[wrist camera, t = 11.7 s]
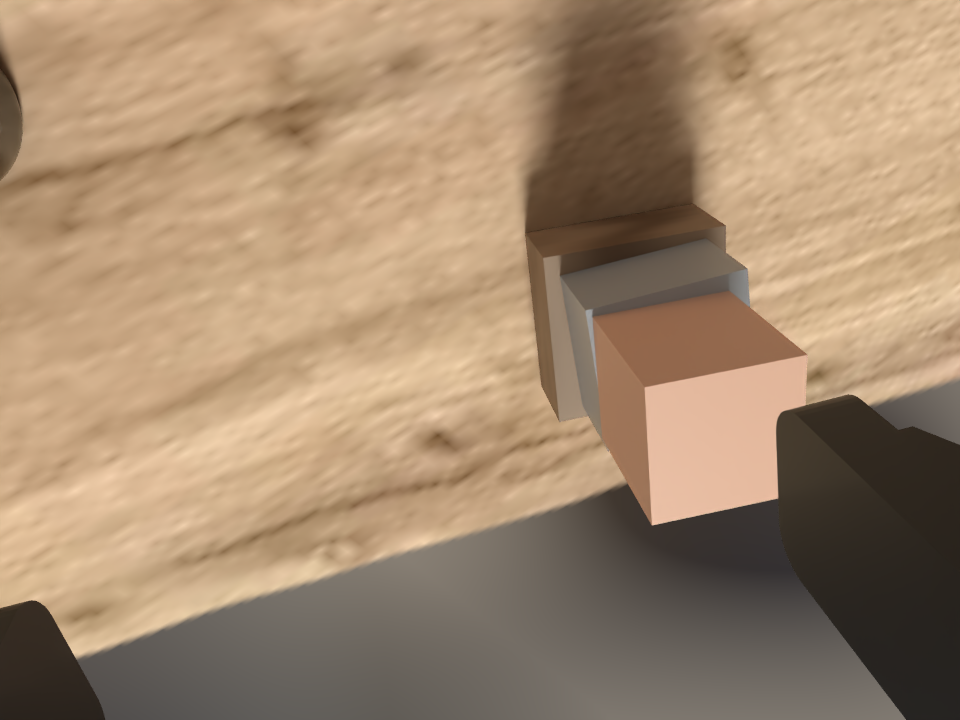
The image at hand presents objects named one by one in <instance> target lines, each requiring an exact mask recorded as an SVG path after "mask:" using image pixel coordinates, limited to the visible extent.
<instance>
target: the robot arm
mask: <svg viewBox="0 0 960 720" xmlns="http://www.w3.org/2000/svg"><path fill="white" fill-rule="evenodd" d="M776 449H777V478H778V506H779V527H780V533H781V537H782V542H783V545H784V548H785V551H786V554H787V557H788V559H789V561H790V563H791V566H792V568H793V569H794V571H795V573H796V575H797V577H798V578H799V580H800V581H801V582H802V584H803V585H804V586H805V588H806V589H807V590H808V592H809V593H810V594H811V595H812V597H813V598H814V599H815V601H816V602H817V603H818V605H819V606H820V607H821V609H822V610H823V611H824V613H825V614H826V615H827V616H828V618H829V619H830V620H831V622H832V623H833V624H834V626H835V627H836V628H837V630H838V631H839V632H840V634H841V635H842V636H843V637H844V639H845V640H846V641H847V643H848V644H849V645H850V647H851V648H852V649H853V651H854V652H855V653H856V654H857V656H858V657H859V658H860V660H861V661H862V662H863V664H864V665H865V666H866V667H867V669H868V670H869V672H870V673H871V674H872V675H873V677H874V678H875V679H876V681H877V682H878V683H879V685H880V686H881V687H882V689H883V690H884V691H885V692H886V694H887V695H888V696H889V698H890V699H891V700H892V702H893V703H894V704H895V706H896V707H897V708H898V709H899V711H900V712H901V713H902V715H903V716H904V717H905V719H906V720H960V445H958V444H956V443H953V442H951V441H948V440H945V439H943V438H940V437H938V436H936V435H933V434H930V433H928V432H925V431H923V430H920V429H918V428H915V427H909V428H905V429H901V430H897V429H896V428H895V427H894V426H892V425H891V424H890V423H889V422H888V421H887V420H885V419H884V418H883V417H882V416H880V415H879V414H878V413H877V412H876V411H874V410H873V409H872V408H871V407H869V406H868V405H867V404H866V403H865V402H863V401H862V400H861V399H859V398H858V397H856V396H854V395H845V396H841V397H837V398H833V399H829V400H825V401H821V402H817V403H813V404H809V405H805V406H801V407H797V408H794V409H790V410H786V411H783V412H781V413H780V415H779V416H778V419H777V424H776ZM0 720H105V717H104V713H103V710H102V707H101V704H100V702H99V700H98V698H97V696H96V694H95V692H94V691H93V689H92V687H91V685H90V683H89V682H88V680H87V678H86V676H85V675H84V673H83V671H82V669H81V667H80V665H79V664H78V662H77V660H76V658H75V656H74V655H73V653H72V651H71V649H70V648H69V646H68V644H67V642H66V640H65V639H64V637H63V635H62V633H61V631H60V630H59V628H58V626H57V624H56V622H55V621H54V619H53V617H52V615H51V614H50V612H49V611H48V610H47V608H46V607H45V606H44V605H42V604H41V603H39V602H37V601H32V600H31V601H27V602H23V603H19V604H15V605H11V606H7V607H3V608H0Z"/></svg>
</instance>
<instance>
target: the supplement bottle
mask: <svg viewBox="0 0 960 720" xmlns="http://www.w3.org/2000/svg"><path fill="white" fill-rule="evenodd" d="M21 141H22V116H21V111H20V106H19V103H18V100H17V97H16V94H15V92H14V90H13V88H12V86H11V84H10V82H9V80H8V78H7V77H6V75H5V74H4V72H3V71H2V70H1V68H0V180H1V179H2V178H3V177H4V176H5V175H6V174H7V173H8V172H9V170H10V169H11V167H12V166H13V164H14V162H15V160H16V158H17V156H18V153H19V150H20V146H21Z"/></svg>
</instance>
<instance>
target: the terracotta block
mask: <svg viewBox="0 0 960 720" xmlns="http://www.w3.org/2000/svg"><path fill="white" fill-rule="evenodd" d="M592 319H593V331H594V344H595V356H596V368H597V381H598V393H599V405H600V418H601V430H602V439H603V441H604V442H605V444H606V446H607V448H608V449H609V451H610V453H611V455H612V456H613V458H614V460H615V462H616V463H617V465H618V467H619V469H620V470H621V472H622V474H623V476H624V477H625V479H626V481H627V483H628V484H629V486H630V488H631V489H632V491H633V493H634V495H635V497H636V498H637V500H638V502H639V504H640V505H641V507H642V509H643V511H644V512H645V514H646V516H647V518H648V519H649V521H650V523H651V524H652V525H656V524H660V523H665V522H669V521H674V520H679V519H684V518H688V517H693V516H698V515H702V514H707V513H712V512H716V511H721V510H726V509H730V508H735V507H740V506H744V505H749V504H754V503H758V502H763V501H768V500H772V499H777V498H778V478H777V449H776V424H777V419H778V416H779V415H780V413H781V412H783V411H786V410H790V409H794V408H797V407H801V406H805V401H806V378H807V356H808V355H807V354H806V353H805V352H803V351H802V350H801V349H800V348H798V347H797V346H796V345H795V344H794V343H792V342H791V341H790V340H789V339H788V338H786V337H785V336H784V335H783V334H781V333H780V332H779V331H778V330H777V329H775V328H774V327H773V326H772V325H771V324H769V323H768V322H767V321H766V320H764V319H763V318H762V317H761V316H760V315H758V314H757V313H756V312H755V311H753V310H752V309H751V308H750V307H749V306H747V305H746V304H745V303H744V302H743V301H741V300H740V299H739V298H738V297H736V296H735V295H734V294H733V293H732V292H730V291H725V292H719V293H714V294H709V295H704V296H698V297H693V298H688V299H683V300H677V301H672V302H667V303H662V304H656V305H651V306H646V307H641V308H635V309H630V310H625V311H620V312H615V313H609V314H604V315H599V316H594V317H592Z"/></svg>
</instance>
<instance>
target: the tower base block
mask: <svg viewBox="0 0 960 720" xmlns="http://www.w3.org/2000/svg"><path fill="white" fill-rule="evenodd" d="M525 236H526V245H527V255H528V264H529V273H530V283H531V292H532V301H533V310H534V320H535V329H536V338H537V347H538V357H539V366H540V375H541V384H542V388H543V390H544V392H545V394H546V396H547V398H548V400H549V402H550V404H551V406H552V408H553V410H554V412H555V414H556V416H557V418H558V420H559V422H561V421H566V420H571V419H576V418H582V417H587V416H588V414H587V413H586V411H585V409H584V407H583V405H582V400H581V394H580V388H579V382H578V377H577V371H576V365H575V359H574V354H573V348H572V342H571V337H570V331H569V325H568V319H567V314H566V308H565V302H564V296H563V291H562V285H561V279H560V276H561V275H565V274H569V273H573V272H577V271H580V270H584V269H588V268H592V267H596V266H600V265H604V264H608V263H612V262H616V261H619V260H623V259H627V258H631V257H635V256H639V255H643V254H647V253H651V252H655V251H659V250H662V249H666V248H670V247H674V246H678V245H682V244H686V243H690V242H694V241H698V240H702V239H705V238H706V239H708V240H709V241H710V242H712V243H713V244H715V245H716V246H717V247H719V248H720V249H721V250H723V251H724V252H725V253H726V225H724V224H723V223H721V222H720V221H718V220H717V219H715V218H714V217H712V216H711V215H709V214H708V213H706V212H705V211H703V210H702V209H700V208H699V207H697V206H696V205H694V204H688V205H682V206H677V207H671V208H665V209H659V210H654V211H648V212H642V213H636V214H631V215H625V216H619V217H614V218H608V219H602V220H596V221H591V222H585V223H579V224H574V225H568V226H562V227H556V228H551V229H545V230H539V231H533V232H528V233H525Z"/></svg>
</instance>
